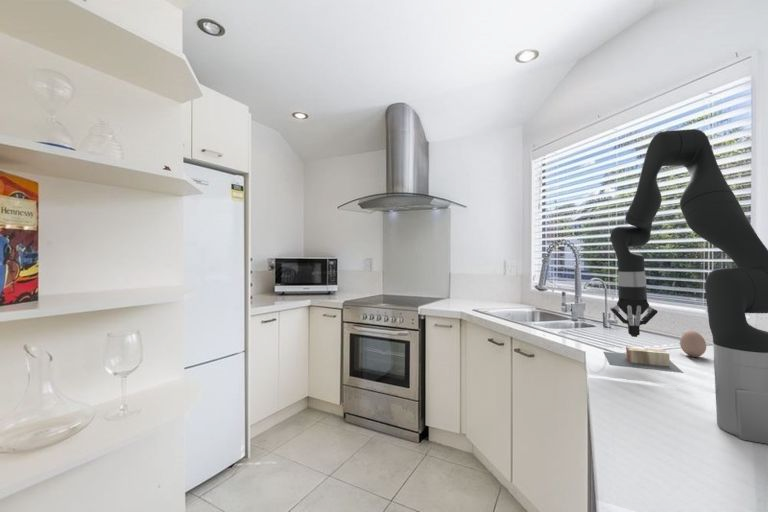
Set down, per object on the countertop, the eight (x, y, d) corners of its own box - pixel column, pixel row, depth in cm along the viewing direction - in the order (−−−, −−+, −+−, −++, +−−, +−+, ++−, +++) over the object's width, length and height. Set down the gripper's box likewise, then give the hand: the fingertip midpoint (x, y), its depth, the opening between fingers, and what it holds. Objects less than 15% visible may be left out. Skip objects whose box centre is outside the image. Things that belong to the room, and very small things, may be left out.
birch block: (629, 362, 104) (669, 366, 99) (629, 350, 104) (669, 353, 99) (626, 357, 109) (665, 361, 104) (626, 346, 109) (664, 349, 104)
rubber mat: (683, 375, 94) (683, 372, 94) (610, 367, 102) (609, 364, 102) (667, 359, 108) (666, 357, 108) (603, 353, 116) (603, 351, 116)
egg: (712, 359, 106) (710, 332, 107) (688, 359, 108) (687, 332, 108) (697, 354, 113) (696, 328, 113) (675, 353, 114) (674, 328, 114)
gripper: (609, 285, 106) (611, 337, 106) (660, 286, 99) (663, 340, 99) (606, 283, 112) (608, 332, 112) (653, 284, 106) (656, 335, 106)
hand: (634, 336), depth 106 cm, fingers closed
